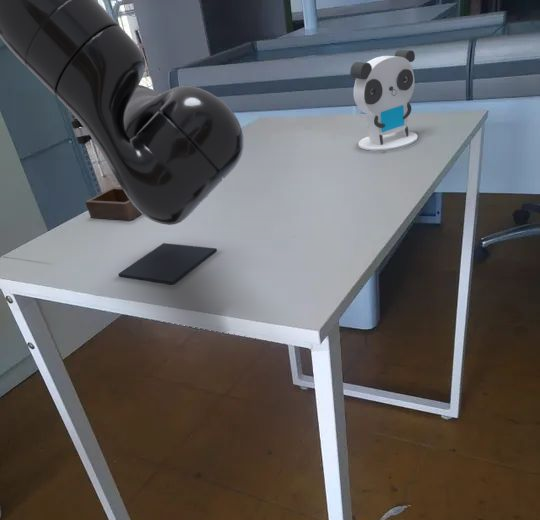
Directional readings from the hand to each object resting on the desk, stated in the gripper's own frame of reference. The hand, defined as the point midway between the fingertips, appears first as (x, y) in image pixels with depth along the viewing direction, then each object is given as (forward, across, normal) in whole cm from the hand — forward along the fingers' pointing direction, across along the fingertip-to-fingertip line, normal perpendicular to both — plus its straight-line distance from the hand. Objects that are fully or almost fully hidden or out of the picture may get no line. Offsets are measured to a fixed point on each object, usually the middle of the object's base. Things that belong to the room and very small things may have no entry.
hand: (119, 108), depth 70 cm
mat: (-6, 0, +20) cm, 20 cm away
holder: (+23, +2, +20) cm, 30 cm away
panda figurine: (+19, -50, +20) cm, 57 cm away
